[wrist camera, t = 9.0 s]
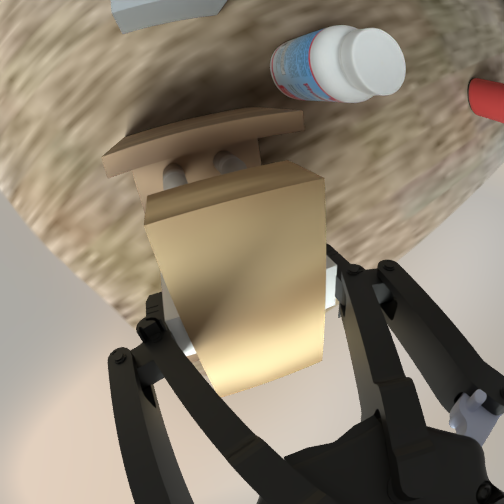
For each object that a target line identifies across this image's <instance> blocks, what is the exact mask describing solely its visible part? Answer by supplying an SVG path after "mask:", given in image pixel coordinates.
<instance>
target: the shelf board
mask: <svg viewBox="0 0 504 504" xmlns="http://www.w3.org/2000/svg"><path fill="white" fill-rule="evenodd" d="M144 227H145V230H146V233H147V236H148V239H149V241H150V244H151V247H152V250H153V252H154V255H155V258H156V260H157V263H158V265H159V268H160V271H161V273H162V276H163V278H164V281H165V283H166V286H167V288H168V291H169V293H170V295H171V298H172V300H173V302H174V305H175V307H176V309H177V312H178V314H179V316H180V319H181V321H182V323H183V325H184V328H185V330H186V332H187V334H188V336H189V338H190V341H191V343H192V345H193V347H194V349H195V351H196V353H197V355H198V357H199V359H200V361H201V363H202V365H203V367H204V369H205V371H206V373H207V375H208V377H209V379H210V381H211V383H212V385H213V387H214V389H215V391H216V393H217V394H218V395H219V396H220V397H225V396H228V395H231V394H234V393H238V392H240V391H244V390H247V389H250V388H253V387H256V386H259V385H262V384H264V383H267V382H270V381H273V380H275V379H278V378H281V377H284V376H286V375H289V374H291V373H294V372H296V371H299V370H301V369H304V368H306V367H309V366H311V365H313V364H316V363H318V362H320V361H322V355H323V341H324V340H323V339H324V322H325V297H326V207H325V182H324V178H323V177H321V176H319V175H317V174H315V173H313V172H311V171H309V170H307V169H305V168H303V167H301V166H299V165H297V164H295V163H293V162H291V161H288V160H286V161H281V162H276V163H271V164H266V165H261V166H257V167H252V168H248V169H243V170H239V171H235V172H231V173H227V174H223V175H219V176H215V177H211V178H207V179H203V180H199V181H196V182H192V183H188V184H185V185H181V186H178V187H174V188H171V189H167V190H164V191H161V192H157V193H154V194H151V195H148V196H147V201H146V210H145V220H144Z"/></svg>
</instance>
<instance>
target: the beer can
mask: <svg viewBox="0 0 504 504" xmlns="http://www.w3.org/2000/svg"><path fill="white" fill-rule="evenodd" d="M468 99H469V104H470V106H471V109H472V110H473V112H474V113H475V114H476V115H478V116H482V117H485V118H489V119H492V120H495V121H498V122H501V123H504V84H503V83H498V82H494V81H489V80H484V79H479V78H474V79H473V80H471V82H470V84H469V88H468Z"/></svg>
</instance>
